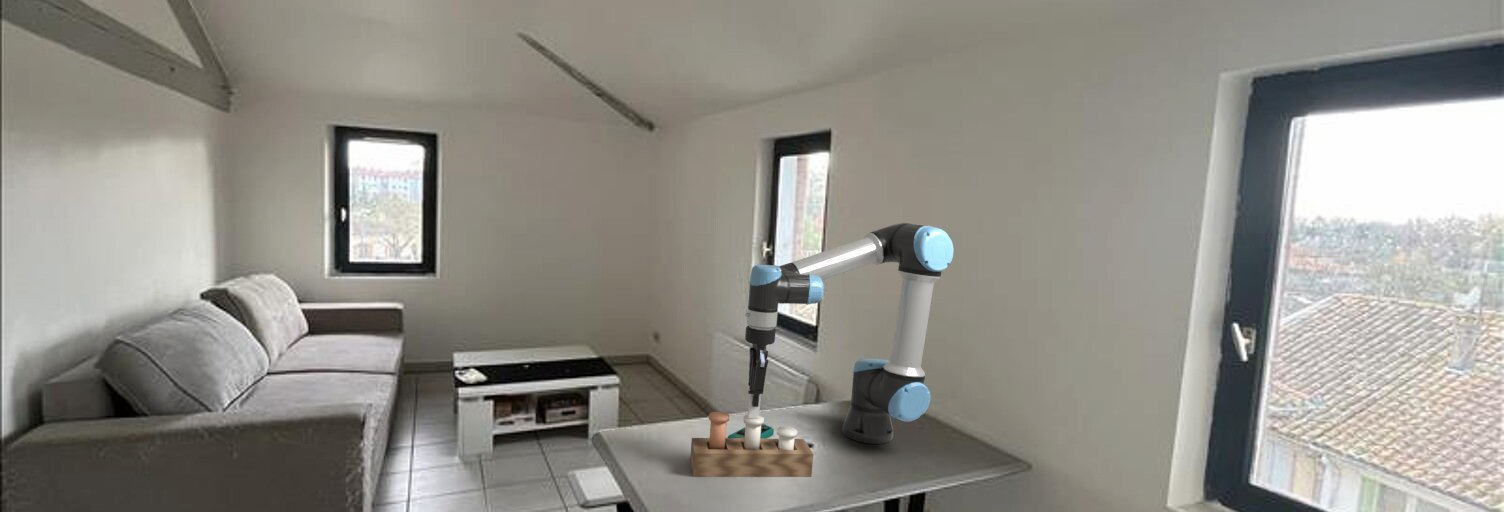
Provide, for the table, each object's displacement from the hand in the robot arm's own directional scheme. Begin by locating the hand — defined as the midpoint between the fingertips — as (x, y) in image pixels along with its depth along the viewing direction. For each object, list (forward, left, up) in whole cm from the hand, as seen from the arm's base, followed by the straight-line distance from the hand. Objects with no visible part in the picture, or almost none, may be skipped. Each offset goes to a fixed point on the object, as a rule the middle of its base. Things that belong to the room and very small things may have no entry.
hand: (753, 417), depth 173 cm
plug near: (-9, 0, -12) cm, 15 cm away
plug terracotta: (+9, 0, -9) cm, 12 cm away
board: (0, 0, -14) cm, 14 cm away
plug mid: (0, 0, -9) cm, 9 cm away
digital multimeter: (-4, -20, -14) cm, 25 cm away
